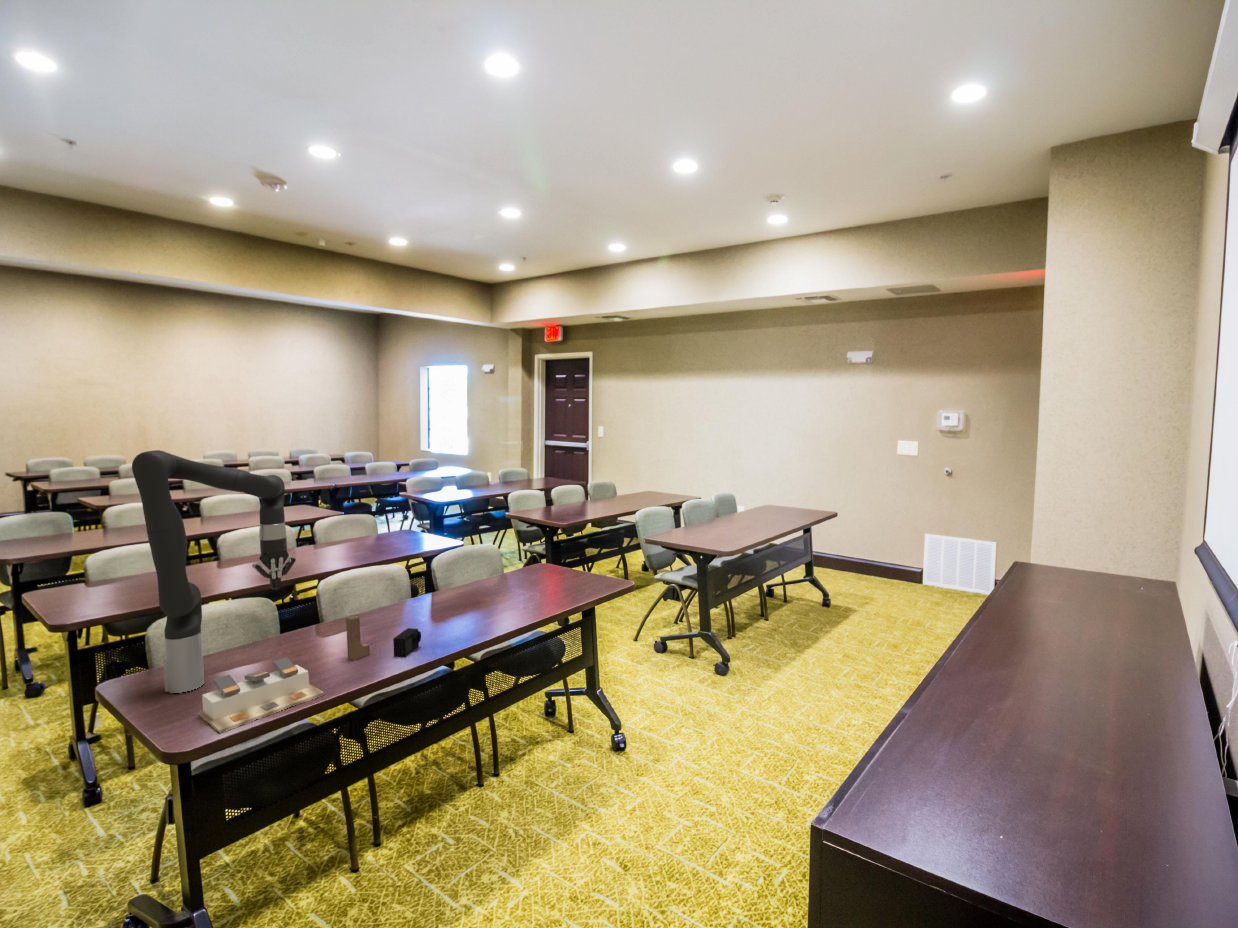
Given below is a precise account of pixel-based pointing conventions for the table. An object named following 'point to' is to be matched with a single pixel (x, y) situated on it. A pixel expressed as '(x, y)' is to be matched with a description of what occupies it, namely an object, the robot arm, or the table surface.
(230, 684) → the switch left
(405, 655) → the digital camera
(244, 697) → the switch box
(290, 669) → the switch right
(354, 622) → the wooden block
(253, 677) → the switch middle
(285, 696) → the chart board
